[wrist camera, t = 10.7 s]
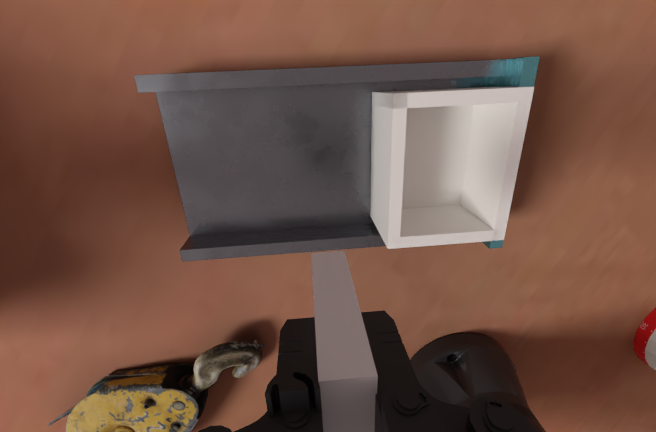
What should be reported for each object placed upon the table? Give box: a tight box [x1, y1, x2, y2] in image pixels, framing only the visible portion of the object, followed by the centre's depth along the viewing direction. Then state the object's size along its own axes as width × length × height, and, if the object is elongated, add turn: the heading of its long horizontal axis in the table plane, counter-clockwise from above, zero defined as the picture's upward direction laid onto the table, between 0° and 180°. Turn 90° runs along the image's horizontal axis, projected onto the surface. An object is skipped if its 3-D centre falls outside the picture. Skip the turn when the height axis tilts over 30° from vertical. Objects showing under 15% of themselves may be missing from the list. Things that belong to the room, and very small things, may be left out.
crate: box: [370, 87, 534, 249], centre depth 27 cm, size 10×12×7 cm
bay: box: [134, 56, 540, 261], centre depth 28 cm, size 30×16×6 cm, turn 92°
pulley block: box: [48, 339, 263, 432], centre depth 39 cm, size 14×6×30 cm
